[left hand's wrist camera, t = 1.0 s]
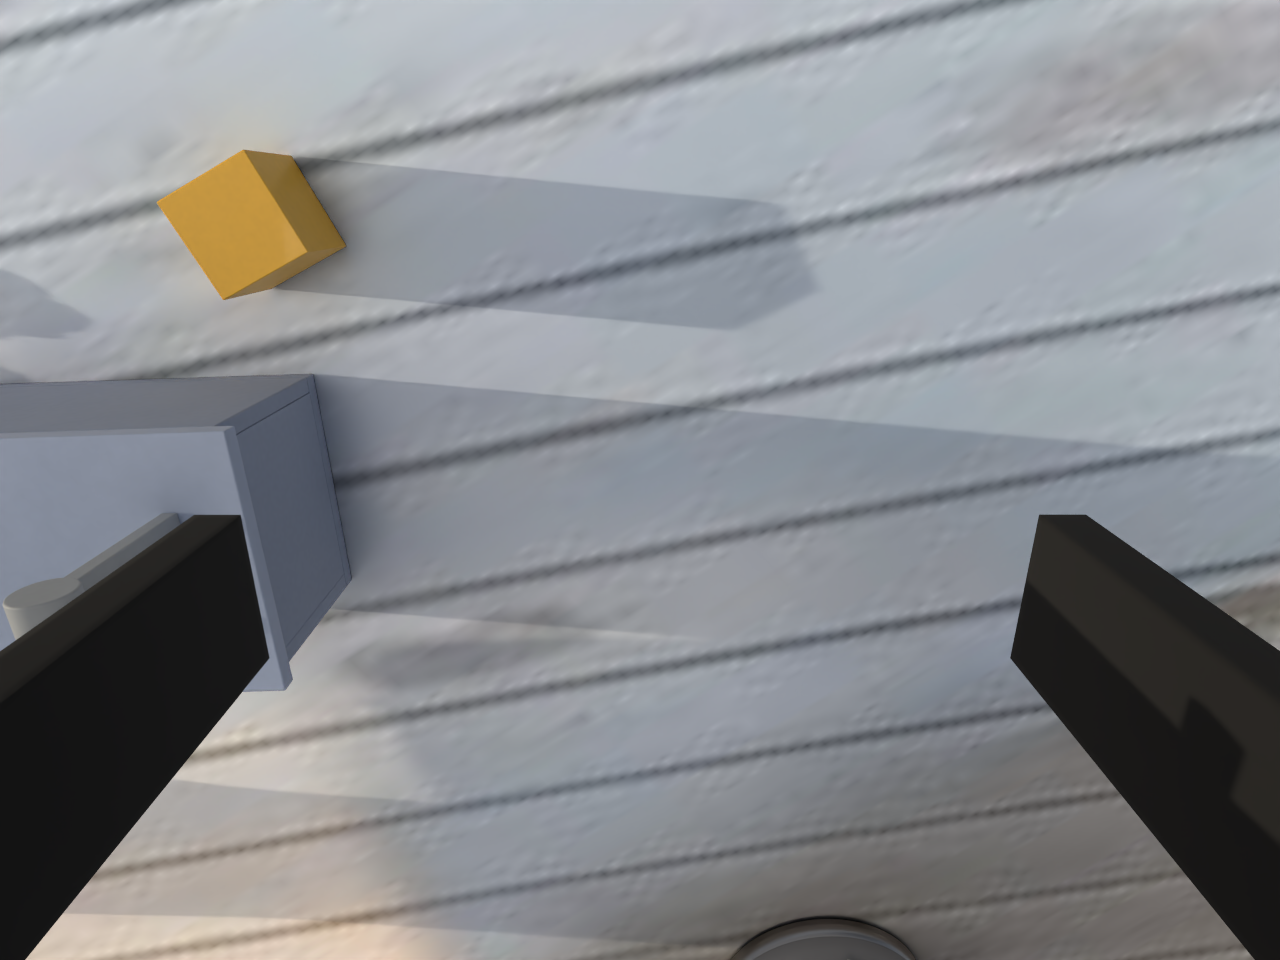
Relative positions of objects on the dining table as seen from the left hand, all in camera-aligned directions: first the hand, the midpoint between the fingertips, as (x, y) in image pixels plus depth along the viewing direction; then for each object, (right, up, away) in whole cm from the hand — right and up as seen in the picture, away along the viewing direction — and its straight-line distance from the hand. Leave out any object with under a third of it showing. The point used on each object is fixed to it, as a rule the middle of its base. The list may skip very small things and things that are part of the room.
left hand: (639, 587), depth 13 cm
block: (-18, +14, +25) cm, 34 cm away
